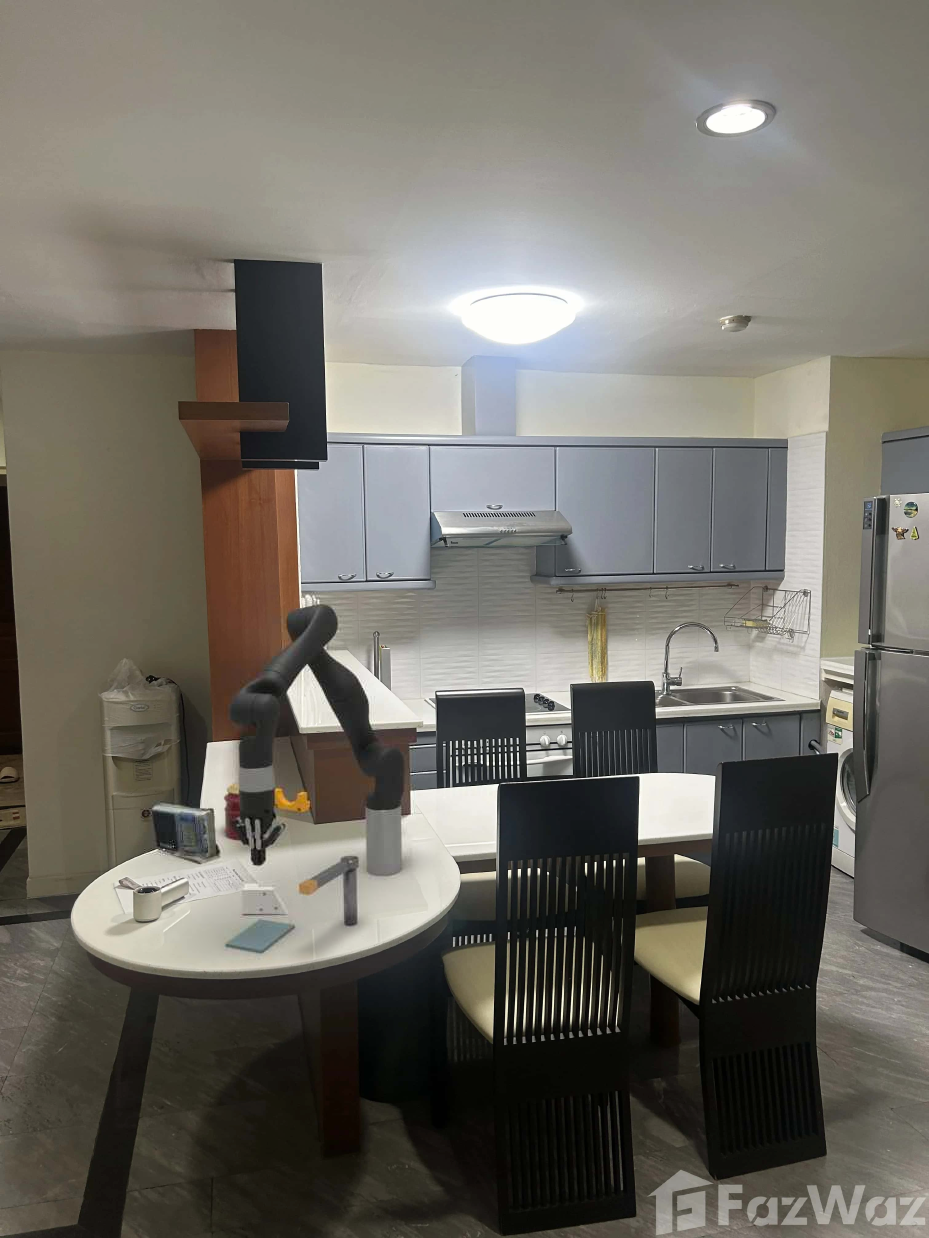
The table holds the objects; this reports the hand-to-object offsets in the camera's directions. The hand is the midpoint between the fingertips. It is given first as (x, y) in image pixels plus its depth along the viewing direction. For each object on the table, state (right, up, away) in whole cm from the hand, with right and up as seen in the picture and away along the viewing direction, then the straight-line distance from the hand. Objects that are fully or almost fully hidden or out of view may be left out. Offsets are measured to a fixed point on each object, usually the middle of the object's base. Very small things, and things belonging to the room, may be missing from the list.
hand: (258, 864), depth 190 cm
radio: (-33, -12, +53) cm, 64 cm away
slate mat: (0, -16, +1) cm, 16 cm away
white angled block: (-7, -15, +14) cm, 22 cm away
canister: (-19, -11, +69) cm, 73 cm away
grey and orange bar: (+15, -3, 0) cm, 16 cm away
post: (+19, -16, +8) cm, 26 cm away
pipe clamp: (-11, -9, +94) cm, 95 cm away
